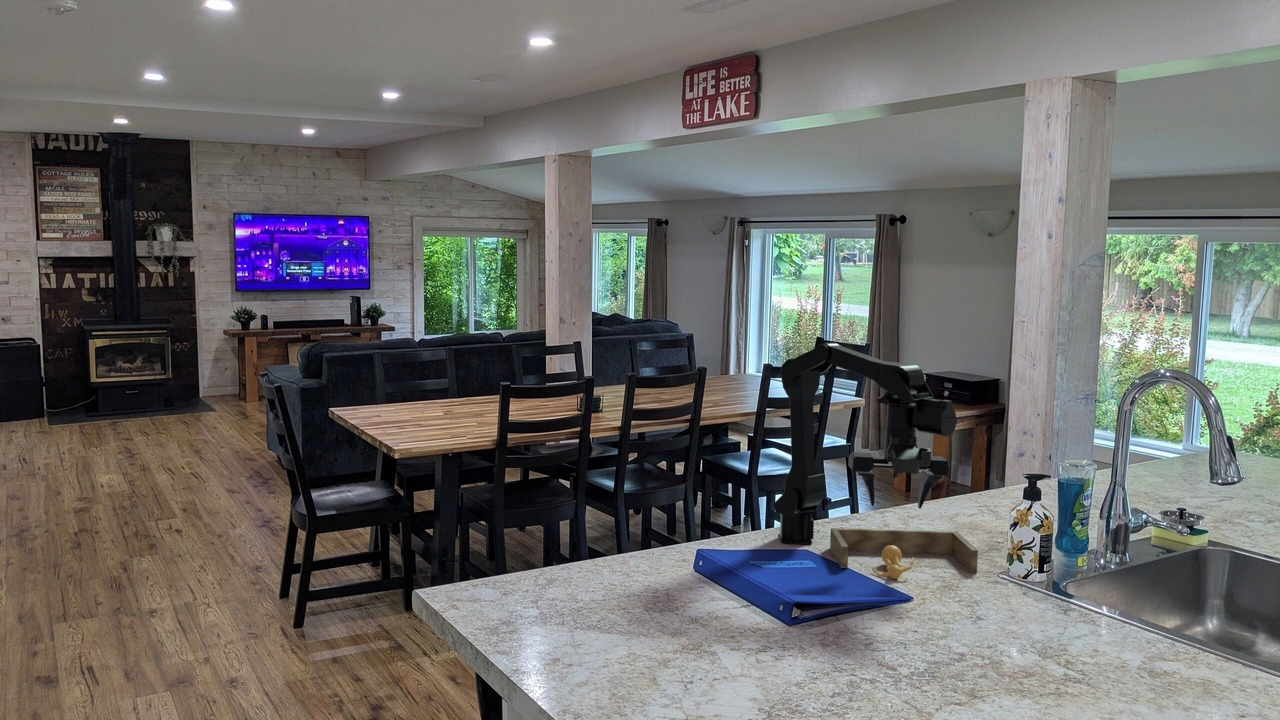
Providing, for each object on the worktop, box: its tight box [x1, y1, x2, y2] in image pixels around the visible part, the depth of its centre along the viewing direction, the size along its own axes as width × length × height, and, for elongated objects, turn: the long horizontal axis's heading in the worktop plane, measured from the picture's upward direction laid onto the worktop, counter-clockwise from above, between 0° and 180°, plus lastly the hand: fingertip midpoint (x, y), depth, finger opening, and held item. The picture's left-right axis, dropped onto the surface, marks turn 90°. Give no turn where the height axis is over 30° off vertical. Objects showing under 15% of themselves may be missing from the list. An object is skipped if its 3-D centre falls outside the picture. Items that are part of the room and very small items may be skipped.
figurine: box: [871, 545, 915, 580], centre depth 189 cm, size 8×6×12 cm
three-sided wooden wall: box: [829, 527, 979, 574], centre depth 197 cm, size 26×14×4 cm, turn 88°
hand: (895, 506), depth 190 cm, fingers open, 9 cm apart
